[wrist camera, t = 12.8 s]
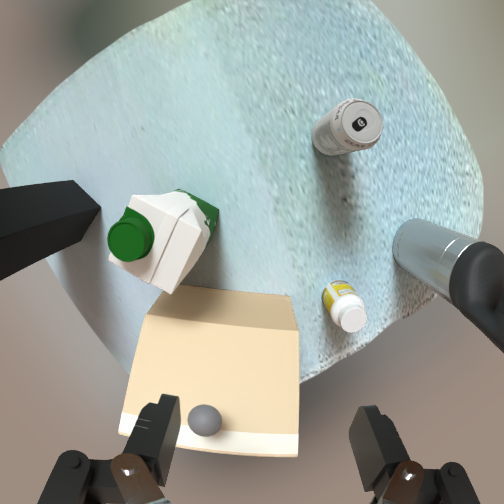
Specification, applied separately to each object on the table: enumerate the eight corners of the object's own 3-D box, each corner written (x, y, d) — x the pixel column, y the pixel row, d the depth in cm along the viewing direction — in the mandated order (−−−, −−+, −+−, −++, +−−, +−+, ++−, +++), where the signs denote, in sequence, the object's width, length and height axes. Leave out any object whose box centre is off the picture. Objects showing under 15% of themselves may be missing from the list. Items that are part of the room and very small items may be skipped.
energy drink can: (355, 140, 42) (397, 129, 28) (327, 163, 43) (360, 160, 29) (330, 110, 41) (363, 85, 27) (302, 133, 42) (324, 114, 28)
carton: (289, 295, 49) (299, 332, 37) (276, 372, 53) (280, 417, 41) (168, 283, 48) (145, 315, 37) (170, 361, 52) (153, 402, 41)
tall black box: (102, 206, 45) (-24, 247, 18) (81, 241, 47) (-35, 302, 20) (73, 179, 44) (-55, 198, 17) (54, 214, 45) (-65, 254, 18)
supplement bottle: (333, 314, 50) (348, 343, 40) (314, 293, 49) (327, 320, 39) (357, 294, 49) (378, 320, 39) (340, 272, 48) (358, 295, 38)
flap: (297, 333, 37) (311, 303, 31) (296, 456, 26) (314, 454, 21) (146, 316, 37) (132, 284, 31) (120, 434, 26) (95, 424, 21)
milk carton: (176, 180, 44) (121, 187, 25) (228, 207, 45) (208, 232, 26) (153, 230, 46) (92, 268, 27) (203, 256, 47) (170, 312, 28)
